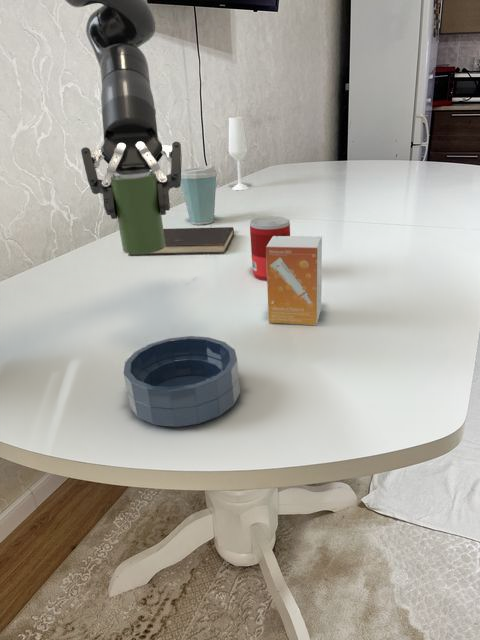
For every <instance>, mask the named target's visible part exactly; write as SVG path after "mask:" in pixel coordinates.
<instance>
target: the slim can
mask: <svg viewBox="0 0 480 640" xmlns="http://www.w3.org/2000/svg"><path fill="white" fill-rule="evenodd" d="M111 184H112V190H113V195H114V201H115V207H116V213H117V224H118V229H119V235H120V242H121V247H122V251H123V252H124V253H125V254H147V253H153V252H157V251H159V250H162V249H163V248H165V238H164V231H163V229H164V226H163V225H164V223H163V217H162V216H163V215H161V212H160V206H159V197H158V188H157V179H156V174H155V173H153V172H152V170H151V169H144V168H139V169H126V170H120V171H116V172H114V173H113V176H112V177H111Z"/></svg>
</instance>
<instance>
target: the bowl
mask: <svg viewBox="0 0 480 640" xmlns="http://www.w3.org/2000/svg"><path fill="white" fill-rule="evenodd" d="M123 377H124V382H125V387H126V393H127V397H128V402H129V408H130V409H131V410H132V412H133V413H134V414H135V416H136V417H137V418H138V419H140V420H143V421H144V422H147V423H148V424H149V423H150V424H152V425H154V426H165V427H174V428H179V427H184V426H193V425H199V424H202V423H204V422H207V421H210V420H213V419H215V418H218V417H220V416H221V415H223V414H224V413H225V412H228V410H229V409H231V408H232V407H233V406H234V405H235V404H236V402H237V400H238V398H239V396H240V394H241V389H240V380H239V379H240V378H239V363H238V357H237V353H236V350H235V348H234V347H232V346H231V345H229V344H228V343H227V342H226V341H223V340H220V339H216V338H212V337H209V336H194V335H187V336H179V337H170V338H165V339H162V340H159V341H155V342H152V343H149V344H147V345H146V346H144V347H141V348H139V349H138V350H136V351H134V352H133V353H132V354H131V355H130V357H129V358H128V359H127V360H125V362H124V367H123Z"/></svg>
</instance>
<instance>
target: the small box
mask: <svg viewBox="0 0 480 640" xmlns="http://www.w3.org/2000/svg"><path fill="white" fill-rule="evenodd" d="M322 255H323V236H322V235H319V236H315V235H314V236H309V235H308V236H304V235H290V236H273V237H272V238H271V240H270V241H269V243H268V245H267V246H266V261H267V281H266V286H267V311H268V323H269V324H286V325H287V324H289V325H291V324H292V325H306V326H318V323H319V319H320V315H321V311H322V269H323V268H322V266H323V265H322V263H323V262H322V261H323V260H322V259H323V257H322Z"/></svg>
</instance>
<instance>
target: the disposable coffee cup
mask: <svg viewBox="0 0 480 640" xmlns="http://www.w3.org/2000/svg"><path fill="white" fill-rule="evenodd" d="M217 175H218V172H217V170H216V169H215V166H214V165H203V166H202V165H201V166H195V167H190V168H185V169H181V186H180V187H181V190H182V194H183V199H184V203H185V206H186V211H187V214H188V219H189V221H190V224H191V225H197V226H202V225H208V224H212V223H213V222H214V219H215V211H216V210H215V208H216V190H217Z"/></svg>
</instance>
